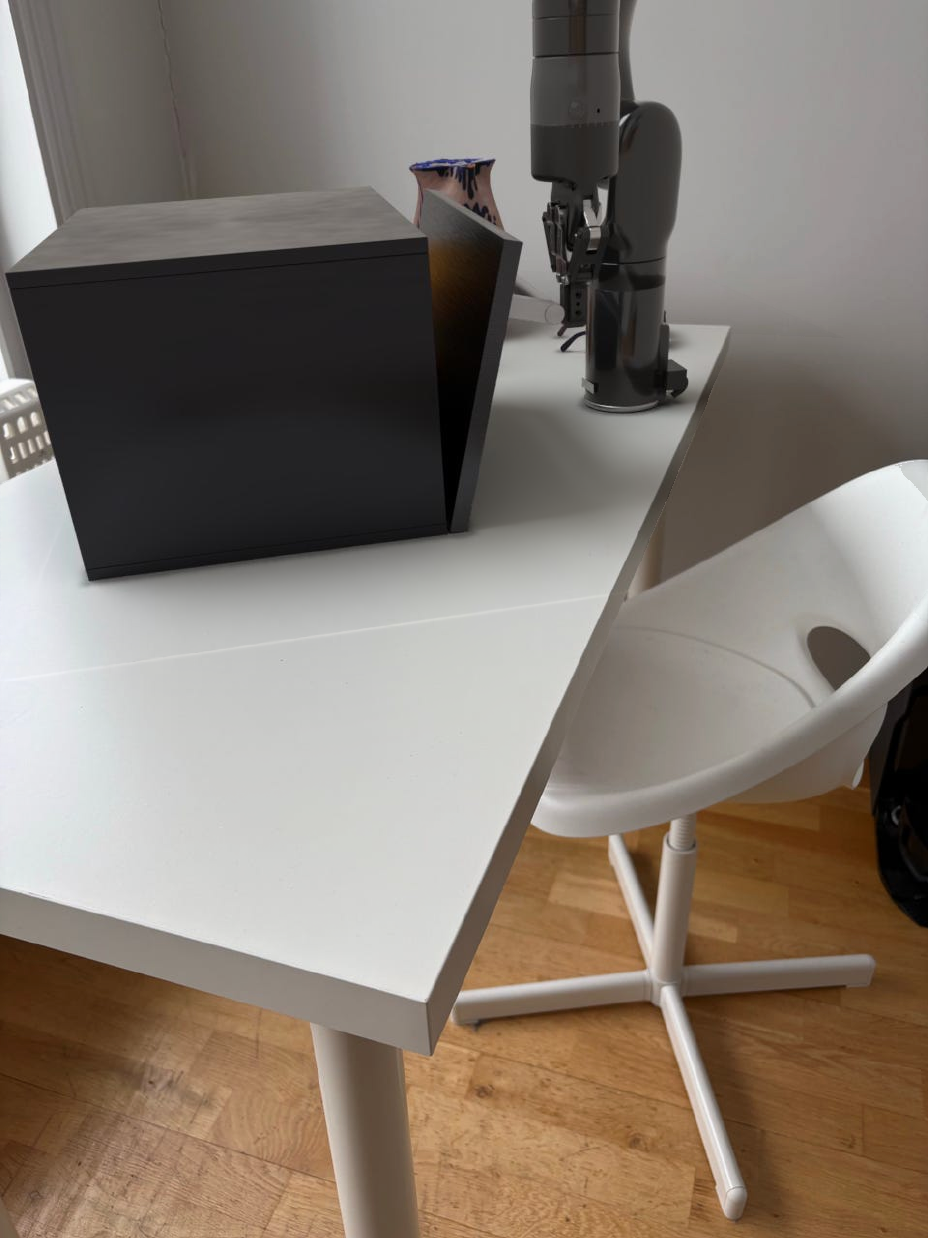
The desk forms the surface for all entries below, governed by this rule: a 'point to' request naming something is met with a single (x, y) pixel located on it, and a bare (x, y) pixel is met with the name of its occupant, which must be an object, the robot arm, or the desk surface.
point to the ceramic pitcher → (459, 185)
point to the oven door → (471, 332)
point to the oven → (236, 377)
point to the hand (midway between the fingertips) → (573, 325)
